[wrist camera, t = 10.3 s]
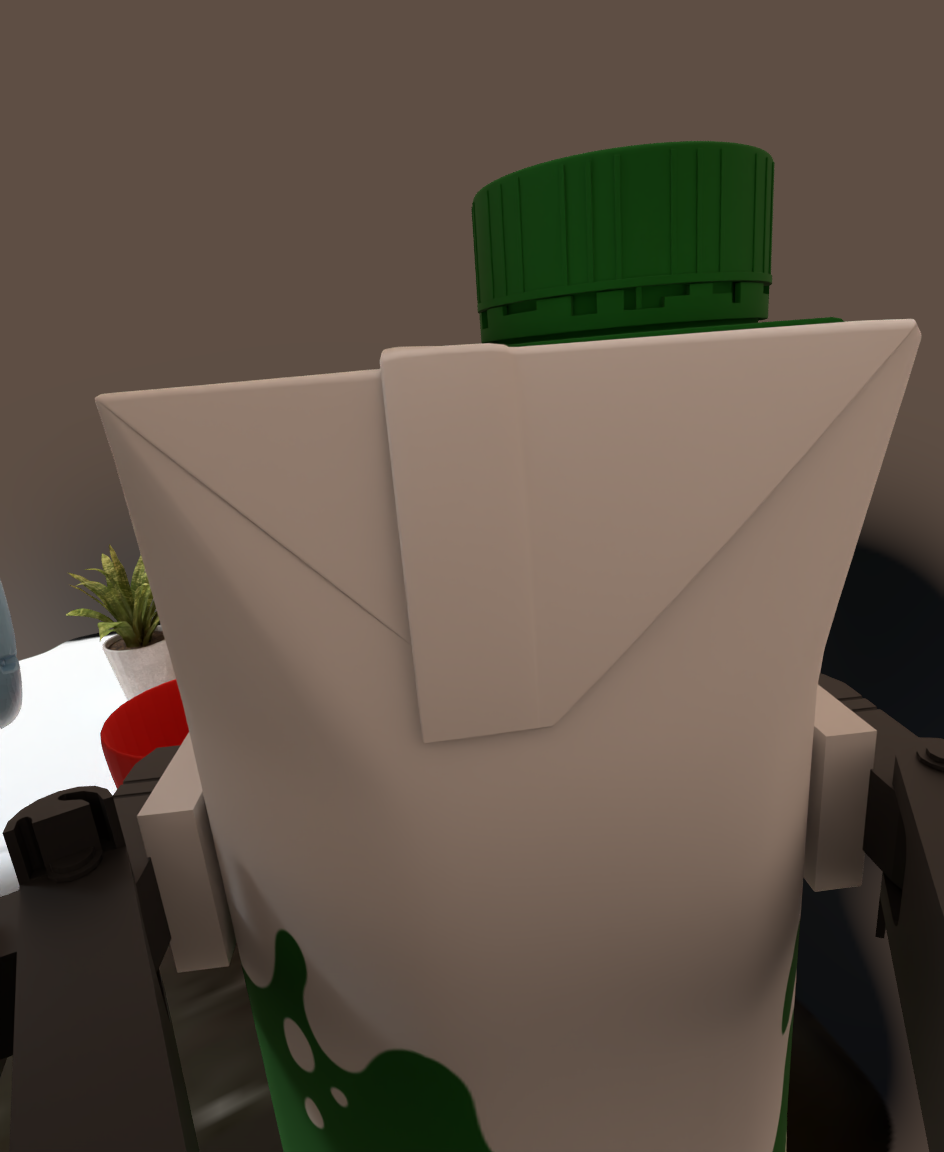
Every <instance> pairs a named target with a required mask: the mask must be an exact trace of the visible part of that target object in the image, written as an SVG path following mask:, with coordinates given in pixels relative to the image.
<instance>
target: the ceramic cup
mask: <svg viewBox="0 0 944 1152" xmlns="http://www.w3.org/2000/svg"><path fill="white" fill-rule="evenodd" d="M188 733H189V728H188V724H187V720H186V715H185V711H184V707H183V702H182V699H181V695H180V691H179V688H178V684H177V681H176V679H174V680H171V681H169V682H166V683H163V684H161V685H158V686H156V687H153V688H151V689H149V690H147V691H145V692H143V693H141V694H139V695H137V696H135V697H133V698H132V699H130V700H129V701H127V702H126V703H124V704H123V705H121V706H120V707H119V708H118V709H116V710H115V711H114V712H113V713H112V714H111V715H110V716H109V718H108V719H107V720H106V721H105V723H104V725H103V728H102V730H101V733H100V734H101V744H102V749H103V752H104V756H105V759H106V762H107V764H108V767H109V770H110V772H111V775H112V778H113V780H114V782H115V785H116V787H117V789H118V788H119V786H120V785H123V781H124V779H125V778H126V776H127V775H128V774H129V772H130V771H131V769H132V768H133V766H134V765H135V764H136V763H137V762H139V761H140V760H141V759H143V758H144V757H145V756H147V755H148V754H149V753H151V752H152V751H153V750H155V749H156V748H160V747H169V746H178V745H181V744H182V743H183V741H184V739H185V738H186V736H187V735H188Z"/></svg>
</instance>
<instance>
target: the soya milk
mask: <svg viewBox="0 0 944 1152" xmlns="http://www.w3.org/2000/svg"><path fill="white" fill-rule="evenodd" d="M773 189H774V162H773V159H772V157H771V155H770V154H769V153H767V152H766V151H764V150H762V149H760V148H757V147H753V146H749V145H744V144H738V143H729V142H714V141H685V142H666V143H654V144H643V145H634V146H626V147H618V148H612V149H606V150H599V151H594V152H588V153H583V154H578V155H573V156H569V157H564V158H560V159H556V160H552V161H548V162H544V163H541V164H537V165H534V166H531V167H527V168H524V169H522V170H519V171H516V172H513V173H511V174H508V175H506V176H504V177H501V178H499V179H497V180H495V181H493V182H491V183H490V184H488V185H486V186H485V187H483V188H482V189H481V190H480V191H479V192H478V193H477V194H476V196H475V197H474V200H473V203H472V204H473V207H472V221H473V237H474V253H475V269H476V284H477V300H478V306H477V307H478V313H479V314H480V326H481V340H482V344H468V345H453V346H417V347H416V346H415V347H395V348H390V349H385V350H383V352H382V354H381V358H380V369H373V370H362V371H352V372H341V373H330V374H320V375H309V376H298V377H287V378H276V379H265V380H254V381H243V382H232V383H222V384H210V385H199V386H188V387H176V388H165V389H153V390H141V391H130V392H118V393H107V394H101V395H99V396H97V397H95V401H96V405H97V407H98V411H99V414H100V417H101V420H102V423H103V427H104V430H105V432H106V436H107V439H108V442H109V445H110V449H111V452H112V455H113V458H114V461H115V465H116V468H117V472H118V475H119V478H120V482H121V486H122V489H123V493H124V496H125V500H126V504H127V507H128V511H129V514H130V517H131V521H132V525H133V528H134V531H135V535H136V539H137V542H138V546H139V549H140V553H141V556H142V560H143V563H144V567H145V570H146V574H147V577H148V581H149V585H150V588H151V592H152V595H153V599H154V602H155V606H156V609H157V613H158V616H159V620H160V623H161V627H162V630H163V634H164V638H165V641H166V645H167V648H168V652H169V655H170V659H171V662H172V666H173V670H174V673H175V677H176V681H177V684H178V688H179V691H180V695H181V699H182V702H183V707H184V711H185V715H186V720H187V724H188V728H189V733H190V737H191V742H192V746H193V751H194V755H195V760H196V764H197V768H198V773H199V777H200V782H201V786H202V791H203V795H204V800H205V804H206V808H207V813H208V817H209V822H210V826H211V831H212V835H213V840H214V844H215V849H216V853H217V857H218V862H219V866H220V871H221V875H222V880H223V884H224V889H225V893H226V897H227V902H228V906H229V911H230V915H231V920H232V924H233V929H234V933H235V938H236V942H237V946H238V951H239V955H240V960H241V964H242V969H243V973H244V978H245V982H246V986H247V991H248V995H249V1000H250V1004H251V1009H252V1013H253V1018H254V1022H255V1026H256V1031H257V1035H258V1040H259V1044H260V1049H261V1053H262V1058H263V1062H264V1066H265V1071H266V1075H267V1080H268V1084H269V1089H270V1093H271V1097H272V1102H273V1106H274V1111H275V1115H276V1120H277V1124H278V1128H279V1133H280V1137H281V1142H282V1146H283V1150H284V1152H786V1139H787V1105H788V1090H789V1074H790V1059H791V1045H792V1030H793V1016H794V1001H795V986H796V972H797V957H798V943H799V928H800V914H801V900H802V885H803V872H804V858H805V843H806V829H807V815H808V801H809V787H810V773H811V758H812V746H813V733H814V721H815V708H816V696H817V685H818V680H819V675H820V669H821V664H822V658H823V653H824V648H825V644H826V641H827V638H828V634H829V631H830V628H831V624H832V621H833V617H834V614H835V611H836V607H837V604H838V601H839V598H840V595H841V592H842V588H843V585H844V582H845V579H846V576H847V572H848V569H849V566H850V563H851V560H852V557H853V553H854V550H855V547H856V544H857V541H858V537H859V534H860V531H861V528H862V525H863V522H864V518H865V515H866V512H867V509H868V505H869V502H870V499H871V496H872V493H873V490H874V487H875V483H876V480H877V477H878V474H879V471H880V468H881V464H882V461H883V458H884V455H885V452H886V449H887V445H888V442H889V439H890V436H891V433H892V430H893V426H894V423H895V420H896V417H897V414H898V411H899V407H900V404H901V401H902V398H903V395H904V392H905V388H906V385H907V382H908V379H909V376H910V372H911V369H912V366H913V363H914V359H915V356H916V353H917V350H918V346H919V343H920V340H921V332H920V330H919V328H918V326H917V324H916V322H915V320H913V319H898V320H869V321H851V322H844V321H843V320H842V319H840V318H833V317H829V318H815V319H802V320H790V321H775V322H762V323H758V321H759V320H764V319H767V318H768V303H769V286H770V285H771V284H772V275H771V252H772V251H771V250H772V220H773Z"/></svg>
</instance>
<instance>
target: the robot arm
mask: <svg viewBox="0 0 944 1152" xmlns="http://www.w3.org/2000/svg"><path fill="white" fill-rule="evenodd" d="M16 653H17V652H16V641H15V636H14V630H13V625H12V621H11V616H10V612H9V608H8V604H7V600H6V596H5V593H4V589H3V586H2V583H1V580H0V729H2V728H4V727H6V726H7V725H9V724H10V723H11V722H12V721H14V719H15V718H16V717H17V715H18V713H19V711H20V709H21V705H22V681H21V673H20V666H19V662H18V659H17V657H16ZM3 836H4V839H5V842H6V845H7V848H8V851H9V854H10V857H11V860H12V863H13V866H14V869H15V872H16V875H17V878H18V882H19V885H20V888H19V891H16V892H13V893H11V894H8V895H5V896H2V897H0V1076H1V1073H2V1071H3V1068H4V1065H5V1062H6V1059H7V1057H9V1056H12V1055H13V1070H12V1096H11V1122H10V1148H9V1152H199V1147H198V1143H197V1138H196V1133H195V1129H194V1124H193V1119H192V1115H191V1110H190V1105H189V1101H188V1096H187V1091H186V1087H185V1082H184V1077H183V1073H182V1068H181V1063H180V1059H179V1054H178V1049H177V1045H176V1040H175V1035H174V1031H173V1026H172V1021H171V1017H170V1012H169V1007H168V1003H167V998H166V993H165V989H164V985H163V981H162V977H161V974H160V970H159V966H160V964H161V962H162V959H163V957H164V955H165V952H166V950H167V948H168V945H169V943H170V946H171V950H172V954H173V958H174V961H175V965H176V969H177V973H180V972H187V971H195V970H203V969H211V968H219V967H227V966H229V965H230V961H231V958H232V955H233V952H234V949H235V945H236V938H235V933H234V929H233V924H232V920H231V915H230V911H229V906H228V902H227V897H226V893H225V889H224V884H223V880H222V875H221V871H220V866H219V862H218V857H217V853H216V849H215V844H214V840H213V835H212V831H211V826H210V822H209V817H208V813H207V808H206V804H205V800H204V795H203V791H202V786H201V782H200V777H199V773H198V768H197V764H196V760H195V755H194V751H193V746H192V742H191V737H190V733H188V735H187V736H186V738H185V739H184V741H183V743H182V744H181V745H178V746H169V747H160V748H156V749H155V750H153V751H152V752H151V753H149V754H148V755H147V756H145V757H144V758H143V759H141V760H140V761H139V762H137V763H136V764H135V765H134V766H133V768H132V769H131V771H130V772H129V774H128V775H127V776H126V778H125V779H124V781H123V785H120V786H119V788H118V789H117V791H116V792H115V793H114V795H113V796H112V795H111V793H110V792H109V791H108V789H105V788H101V787H97V786H84V787H75V788H71V789H67V790H63V791H58V792H56V793H53V794H51V795H49V796H46V797H44V798H41V799H39V800H37V801H35V802H34V803H32V804H30V805H29V806H27V807H25V808H24V809H22V810H20V811H19V812H18V813H17V814H16V815H15V816H14V817H13V818H12V819H11V820H10V821H8V823H7V825H6V827H5V829H4V831H3ZM865 853H866V854H867V855H868V856H869V857H870V858H871V859H872V860H873V862H874V863H875V864H876V865H877V866H878V867H879V868H880V869H881V870H882V871H883V873H882V883H881V892H880V901H879V910H878V919H877V928H876V937H879V938H884V935H885V930H887V935H888V939H889V945H890V950H891V955H892V961H893V965H894V971H895V976H896V981H897V986H898V992H899V997H900V1002H901V1007H902V1012H903V1017H904V1023H905V1027H906V1033H907V1037H908V1043H909V1048H910V1053H911V1059H912V1064H913V1069H914V1074H915V1079H916V1084H917V1089H918V1095H919V1100H920V1105H921V1110H922V1115H923V1121H924V1125H925V1130H926V1136H927V1141H928V1146H929V1151H930V1152H944V739H940V738H918V737H917V736H916V735H914V734H913V733H912V732H910V731H909V730H907V729H906V728H904V727H903V726H902V725H901V724H899V723H898V722H897V721H895V720H894V719H892V718H891V717H890V716H888V715H887V714H886V713H884V712H883V711H882V710H877V707H876V706H875V705H873V704H872V703H871V702H869V701H868V700H867V699H862V696H861V695H860V694H859V693H857V692H856V691H854V690H853V689H852V688H850V687H849V686H848V685H846V684H845V683H843V682H841V681H838V680H836V679H833V678H830V677H828V676H825V675H823V674H821V673H820V675H819V680H818V685H817V696H816V708H815V721H814V733H813V746H812V758H811V773H810V787H809V801H808V815H807V829H806V843H805V858H804V872H803V877H804V878H805V880H806V881H807V882H808V884H809V885H810V886H811V888H812V889H813V890H814V891H823V890H831V889H838V888H847V887H855V886H861V885H862V875H863V865H864V855H865Z"/></svg>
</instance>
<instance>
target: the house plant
mask: <svg viewBox="0 0 944 1152" xmlns="http://www.w3.org/2000/svg"><path fill="white" fill-rule="evenodd" d="M109 548H110V555H111V558H112V561H111V560H110V558H109V557H108V556H105V555H104V554H102V565H103V569H104V571H103V570H101V569H93V570H98V571H99V572H101V573H102V574H104V575H105V576H106V580H107V586H108V587H106V586H105V585H103V584H101V583H99V582H94V581H89V580H87V579H85V578H84V577H81V576H79V575H75V574H71V573H69V574H70V575H71V576H73V577H74V578H76V579H78V580H80V582H81V584H83V585H84V586H85V587H87V588H88V589H90V590H91V591H92V592H94V593H95V594H96V595H97V596H98V597H99V598H100V599H101V600H102V602H103V603H104V604H105V605H106V606H104V605H103V604H102V603H101V602H100V601H99V600H97V599H95V598H94V597H93V596H91V595H89V594H88V593H86V592H85V591H83V590H82V589H80V588H77V587H74V586H73V587H74V588H77V589H79V590H81V591H83V592H84V593H86V594H87V595H89V596H90V597H91V598H93V599H95V600H96V601H98V602H99V603H100V604H101V605H103V606H104V607H105V608H106V609H107V610H108V611H109V612H110V613H111V614H112V615H113V616H114V618H115V619H116V620H117V622H113V621H112V620H111V619H110V618H109V617H106V616H105V615H103V614H101V613H99V612H96V611H93V610H89V609H76V610H73V611H71V612H70V613H68V614H67V615H69V616H85V617H91V618H96V619H99V620H101V621H103V622H100V623H98V627H99V631H100V633H99V635H100V640H101V639H102V637H104V636H105V635H107V634H108V633H110V632H111V631H115V632H116V633H117V635H115V636H113V637H111V638H109V639H108V640H106V641H105V642H104V644H103V650H104V652H105V654H106V656H107V658H108V660H109V663H110V665H111V667H112V669H113V671H114V673H115V675H116V677H117V679H118V681H119V683H120V685H121V688H122V690H123V692H124V694H125V696H126V698H127V700H128V701H129V700H130V699H132V698H133V697H135V696H137V695H139V694H141V693H143V692H145V691H147V690H149V689H151V688H153V687H156V686H158V685H161V684H163V683H166V682H169V681H171V680H174V679H176V677H175V673H174V670H173V666H172V662H171V659H170V655H169V652H168V648H167V645H166V641H165V638H164V634H163V630H162V627H161V625H158V624H159V622H160V620H159V616H158V613H157V612H155V613H154V611H155V609H156V606H155V602H154V601H153V603H152V606H151V608H150V604H151V602H152V599H153V595H152V592H151V588H150V585H149V581H148V577H147V574H146V572H145V573H144V570H145V567H144V563H143V560H142V556H140V558H139V560H138V563H137V565H136V567H135V569H134V573H133V576H132V582H131V588H130V585H129V582H128V579H127V575H126V572H125V569H124V568H123V566H122V564H121V563H120V561H119V560H118V558H117V556H116V553H115V551H114V550H113V548H112V547H111V546H110V545H109ZM112 562H113V563H112ZM86 570H87V569H86ZM91 570H92V569H91ZM78 585H80V584H78ZM70 586H71V585H70ZM149 608H150V609H149ZM153 616H154V617H153ZM152 617H153V619H152ZM151 619H152V621H151ZM109 628H114V629H113V630H107V629H109Z"/></svg>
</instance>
